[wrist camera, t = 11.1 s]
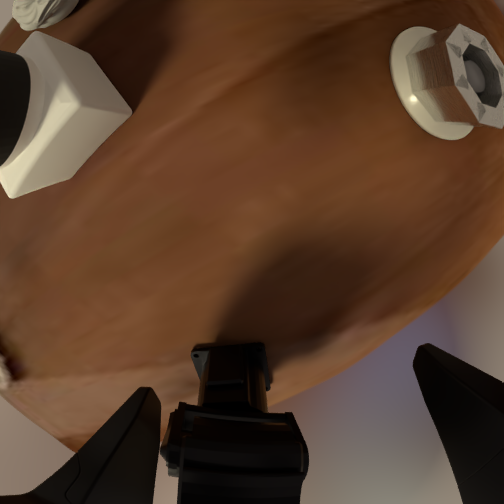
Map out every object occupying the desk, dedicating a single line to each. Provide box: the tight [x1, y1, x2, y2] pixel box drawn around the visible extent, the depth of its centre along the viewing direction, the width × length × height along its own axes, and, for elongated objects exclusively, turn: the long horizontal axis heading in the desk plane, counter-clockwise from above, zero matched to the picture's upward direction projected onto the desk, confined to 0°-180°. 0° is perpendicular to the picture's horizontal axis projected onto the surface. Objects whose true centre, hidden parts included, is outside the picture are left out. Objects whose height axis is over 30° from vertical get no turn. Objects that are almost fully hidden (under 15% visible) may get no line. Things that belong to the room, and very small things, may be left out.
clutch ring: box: [405, 24, 504, 129], centre depth 12 cm, size 7×7×5 cm
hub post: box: [389, 27, 485, 140], centre depth 12 cm, size 10×10×5 cm
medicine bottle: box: [0, 31, 132, 198], centre depth 9 cm, size 7×7×12 cm
